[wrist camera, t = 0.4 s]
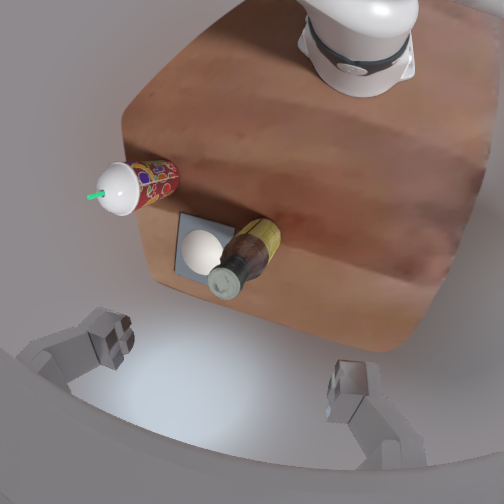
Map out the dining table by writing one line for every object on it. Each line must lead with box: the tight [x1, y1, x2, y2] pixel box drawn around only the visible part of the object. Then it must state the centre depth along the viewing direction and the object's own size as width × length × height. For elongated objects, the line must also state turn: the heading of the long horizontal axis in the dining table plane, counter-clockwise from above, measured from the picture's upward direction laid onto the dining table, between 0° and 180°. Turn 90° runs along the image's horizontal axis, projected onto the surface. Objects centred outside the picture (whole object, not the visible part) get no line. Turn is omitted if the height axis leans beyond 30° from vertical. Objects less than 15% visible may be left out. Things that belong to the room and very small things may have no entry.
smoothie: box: [87, 160, 180, 216], centre depth 43 cm, size 8×8×20 cm
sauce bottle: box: [207, 218, 281, 300], centre depth 41 cm, size 6×6×20 cm
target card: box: [175, 212, 236, 286], centre depth 55 cm, size 13×11×1 cm
